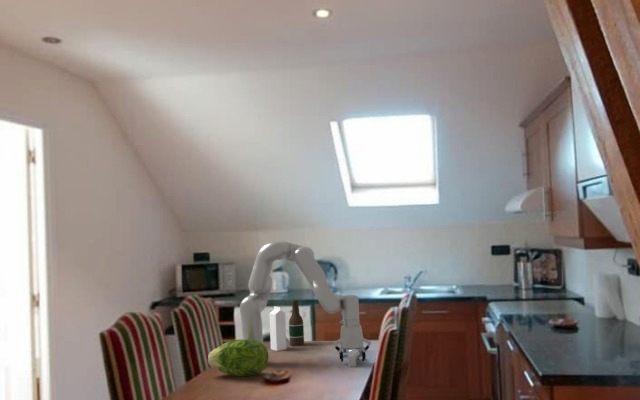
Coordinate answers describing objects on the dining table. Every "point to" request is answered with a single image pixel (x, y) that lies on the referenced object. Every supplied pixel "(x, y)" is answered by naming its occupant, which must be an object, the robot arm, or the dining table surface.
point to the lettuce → (240, 357)
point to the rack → (346, 352)
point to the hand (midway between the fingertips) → (352, 360)
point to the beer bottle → (296, 326)
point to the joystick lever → (353, 357)
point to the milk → (277, 329)
